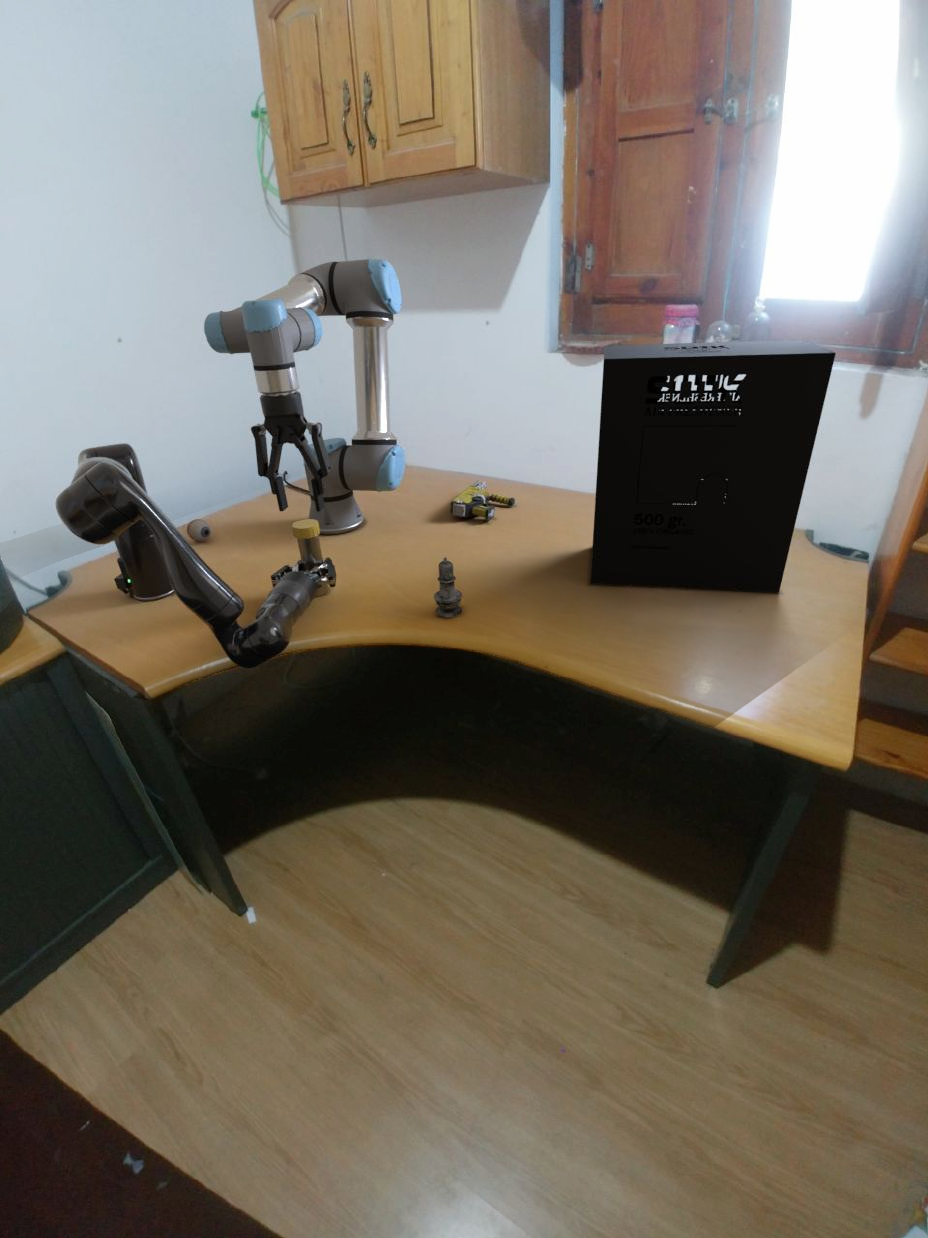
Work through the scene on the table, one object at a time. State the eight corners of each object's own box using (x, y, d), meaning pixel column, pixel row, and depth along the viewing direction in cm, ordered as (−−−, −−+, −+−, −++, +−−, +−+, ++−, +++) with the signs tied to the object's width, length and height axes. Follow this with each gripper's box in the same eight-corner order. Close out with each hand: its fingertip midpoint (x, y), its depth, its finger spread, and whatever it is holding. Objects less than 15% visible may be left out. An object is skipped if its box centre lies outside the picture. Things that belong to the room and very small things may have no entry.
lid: (293, 540, 124) (291, 529, 123) (294, 531, 129) (292, 520, 128) (320, 536, 125) (318, 526, 124) (319, 527, 130) (318, 517, 129)
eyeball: (200, 546, 160) (194, 525, 157) (185, 542, 163) (179, 521, 160) (219, 538, 165) (213, 517, 162) (204, 535, 168) (198, 514, 165)
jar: (308, 597, 132) (294, 530, 124) (308, 589, 136) (294, 523, 128) (328, 594, 132) (316, 527, 125) (328, 586, 136) (316, 520, 128)
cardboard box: (758, 552, 140) (802, 339, 117) (778, 592, 123) (835, 352, 100) (592, 546, 147) (604, 345, 125) (590, 583, 130) (603, 358, 108)
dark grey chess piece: (460, 618, 120) (456, 564, 114) (431, 617, 121) (426, 562, 115) (465, 604, 125) (462, 551, 119) (438, 603, 126) (434, 550, 120)
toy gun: (523, 485, 181) (476, 478, 185) (501, 509, 161) (448, 500, 165) (521, 500, 184) (475, 493, 187) (499, 525, 163) (447, 517, 167)
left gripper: (322, 580, 116) (346, 545, 131) (251, 580, 118) (282, 545, 132) (329, 614, 120) (351, 576, 134) (260, 614, 121) (289, 576, 136)
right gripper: (337, 387, 115) (354, 503, 126) (238, 390, 118) (264, 502, 129) (323, 394, 108) (343, 515, 120) (219, 397, 111) (248, 515, 123)
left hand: (317, 561), depth 133 cm, fingers open, 5 cm apart
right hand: (302, 508), depth 124 cm, fingers open, 7 cm apart
